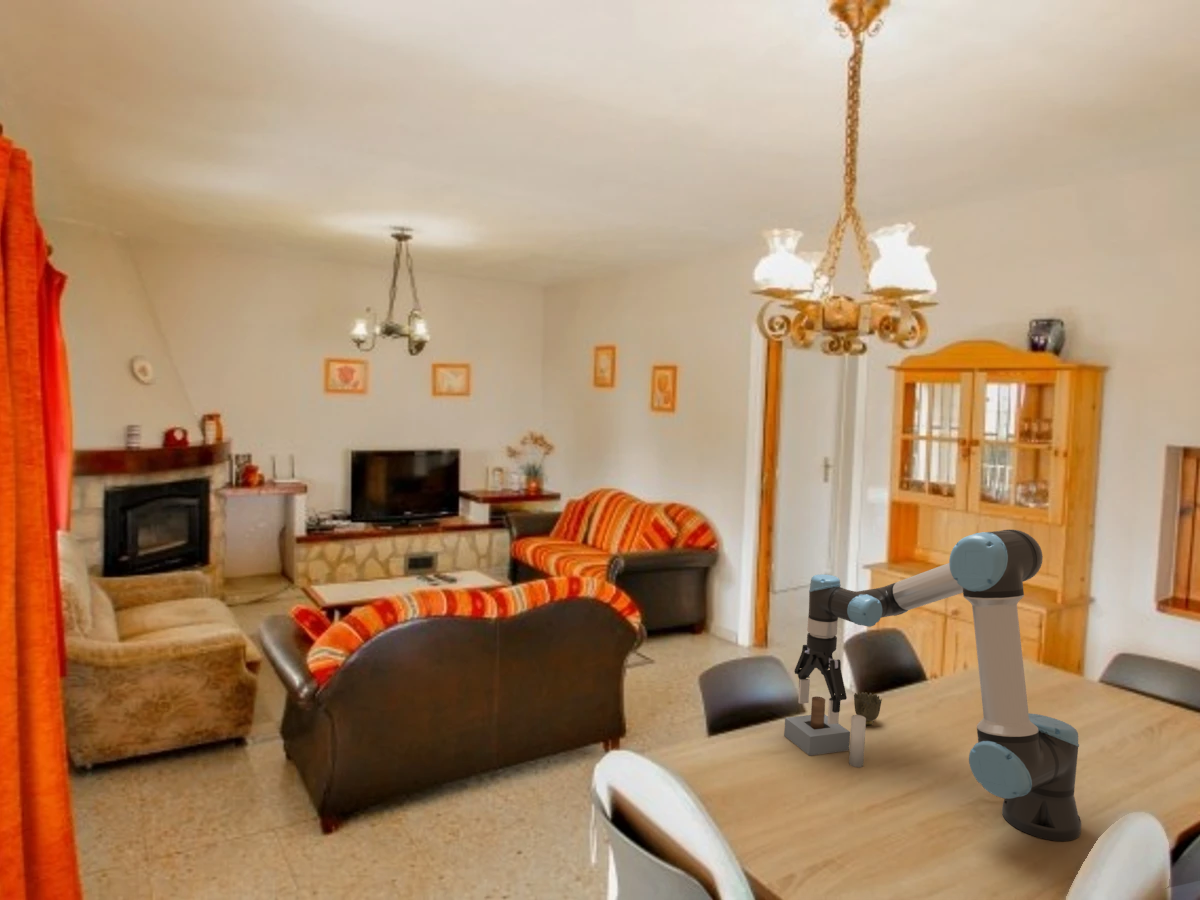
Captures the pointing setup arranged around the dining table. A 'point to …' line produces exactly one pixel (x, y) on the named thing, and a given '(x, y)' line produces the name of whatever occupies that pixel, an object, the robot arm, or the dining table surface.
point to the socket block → (816, 736)
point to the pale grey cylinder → (857, 740)
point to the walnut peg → (817, 713)
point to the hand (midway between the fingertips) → (817, 712)
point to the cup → (867, 706)
